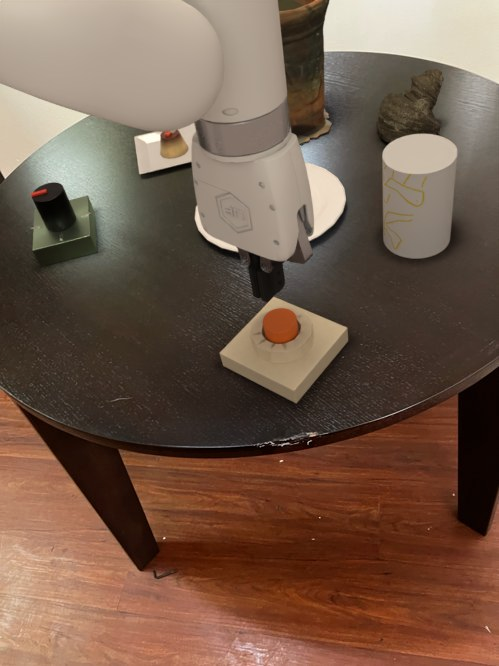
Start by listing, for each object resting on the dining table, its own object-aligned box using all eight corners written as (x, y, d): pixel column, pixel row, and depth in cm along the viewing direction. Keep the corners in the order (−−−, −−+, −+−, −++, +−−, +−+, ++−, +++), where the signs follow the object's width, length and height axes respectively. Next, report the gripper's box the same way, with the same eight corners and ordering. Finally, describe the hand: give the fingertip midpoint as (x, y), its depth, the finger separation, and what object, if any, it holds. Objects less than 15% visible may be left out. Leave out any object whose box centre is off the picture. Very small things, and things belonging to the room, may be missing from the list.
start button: (285, 348, 67) (283, 337, 66) (258, 336, 69) (255, 324, 68) (305, 326, 69) (303, 315, 68) (278, 314, 71) (275, 303, 69)
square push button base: (296, 403, 67) (292, 379, 64) (222, 365, 72) (215, 341, 69) (348, 341, 71) (346, 315, 68) (276, 309, 76) (271, 284, 73)
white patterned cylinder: (370, 232, 83) (368, 150, 75) (424, 209, 85) (428, 126, 76) (407, 267, 78) (409, 183, 69) (464, 241, 79) (473, 156, 71)
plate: (232, 163, 100) (230, 153, 98) (365, 175, 92) (364, 165, 91) (171, 249, 87) (168, 240, 86) (318, 272, 80) (316, 262, 78)
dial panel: (99, 251, 90) (91, 233, 87) (38, 267, 89) (29, 250, 87) (96, 211, 96) (89, 193, 94) (40, 225, 96) (31, 208, 94)
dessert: (141, 180, 100) (132, 153, 97) (135, 142, 109) (127, 116, 105) (216, 161, 101) (210, 134, 97) (205, 125, 109) (199, 98, 106)
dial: (75, 208, 92) (61, 176, 89) (77, 225, 89) (63, 194, 86) (45, 217, 92) (30, 185, 88) (46, 234, 89) (30, 203, 85)
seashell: (466, 110, 88) (463, 74, 94) (392, 71, 85) (393, 36, 92) (418, 171, 96) (417, 134, 103) (349, 137, 94) (352, 101, 100)
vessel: (340, 96, 108) (332, -33, 94) (335, 143, 99) (325, 7, 84) (256, 103, 111) (235, -21, 97) (243, 149, 102) (219, 18, 87)
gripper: (143, 124, 53) (189, 288, 66) (291, 167, 46) (310, 343, 59) (202, 83, 57) (235, 247, 70) (348, 118, 49) (354, 294, 62)
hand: (269, 291), depth 64 cm, fingers closed
